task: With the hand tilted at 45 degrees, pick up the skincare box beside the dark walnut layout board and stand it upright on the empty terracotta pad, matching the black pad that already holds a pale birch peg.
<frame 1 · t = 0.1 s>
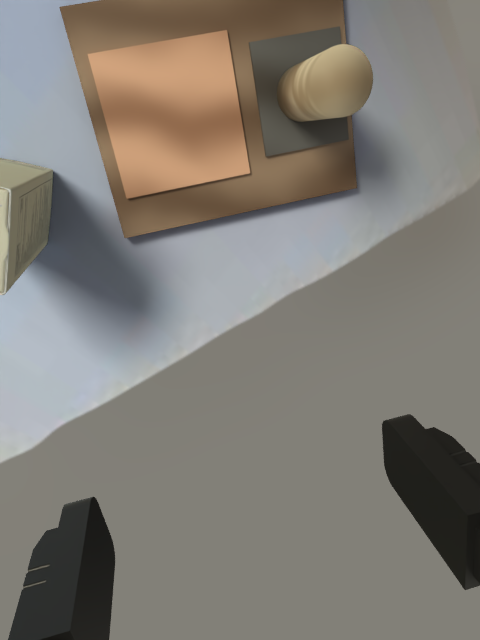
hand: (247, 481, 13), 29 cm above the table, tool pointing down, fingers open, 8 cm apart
layout board: (223, 109, 36), on the table
skincare box: (22, 204, 36), on the table
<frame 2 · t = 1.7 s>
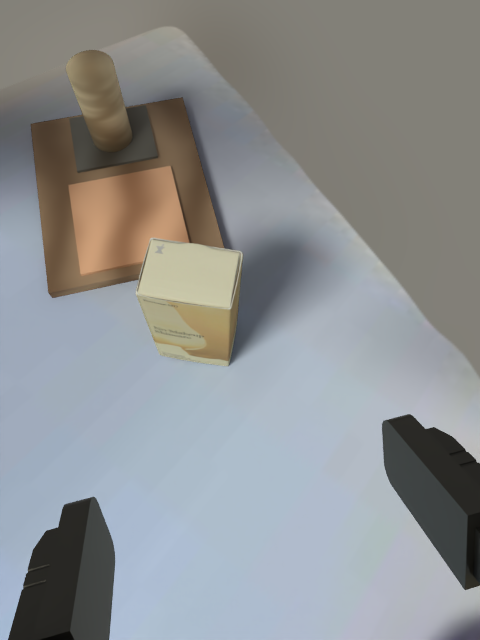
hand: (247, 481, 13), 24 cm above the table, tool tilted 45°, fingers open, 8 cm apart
layout board: (124, 191, 46), on the table
skincare box: (200, 339, 40), on the table
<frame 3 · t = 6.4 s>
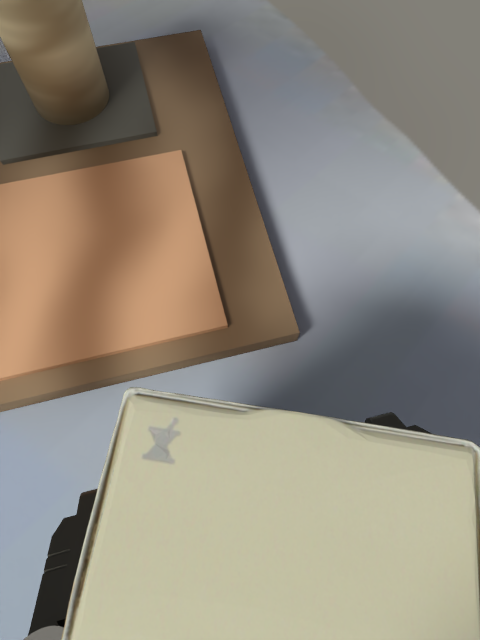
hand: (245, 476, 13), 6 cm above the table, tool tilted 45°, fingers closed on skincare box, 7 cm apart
layout board: (93, 200, 24), on the table
skincare box: (251, 526, 18), on the table, touching gripper
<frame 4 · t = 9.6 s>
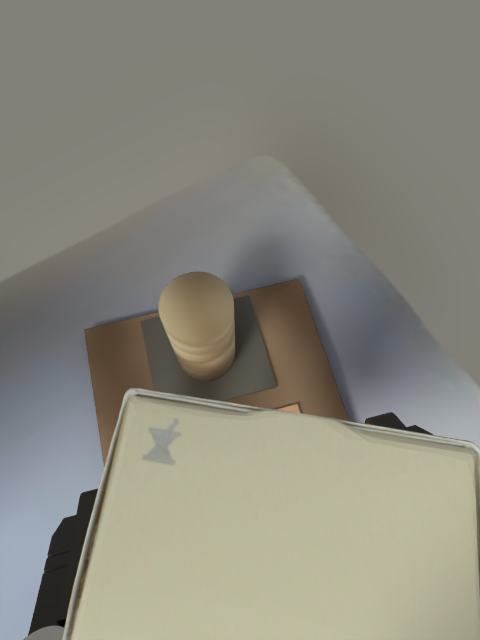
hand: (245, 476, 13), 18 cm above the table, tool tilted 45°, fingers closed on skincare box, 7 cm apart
layout board: (228, 441, 31), on the table
skincare box: (252, 526, 18), point 12 cm above the table, touching gripper
when the fingers open (9 cm above the table, at t = 13.1 s): skincare box drops 1 cm, resting on layout board.
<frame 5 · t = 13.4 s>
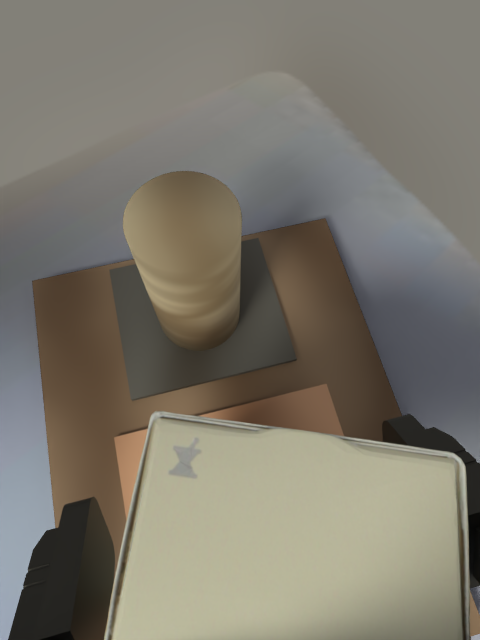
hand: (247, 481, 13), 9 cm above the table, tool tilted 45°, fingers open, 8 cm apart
layout board: (228, 435, 22), on the table
skincare box: (256, 527, 19), point 1 cm above the table, touching layout board
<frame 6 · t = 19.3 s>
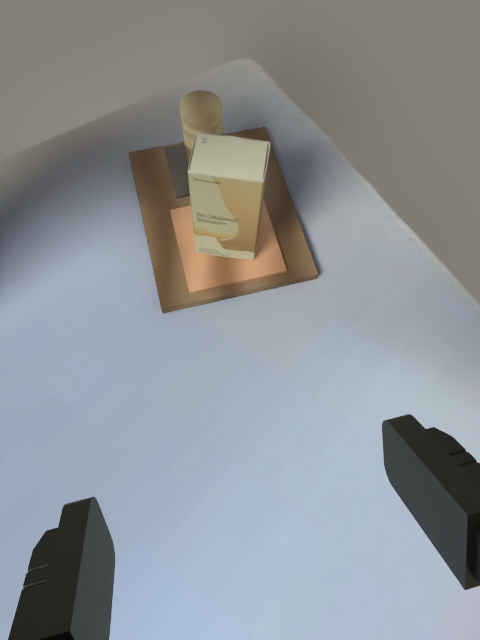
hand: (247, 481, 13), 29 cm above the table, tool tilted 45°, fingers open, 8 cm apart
layout board: (218, 215, 50), on the table
skincare box: (229, 241, 48), point 1 cm above the table, touching layout board
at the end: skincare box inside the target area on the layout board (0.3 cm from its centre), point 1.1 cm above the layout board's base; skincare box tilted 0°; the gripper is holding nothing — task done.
